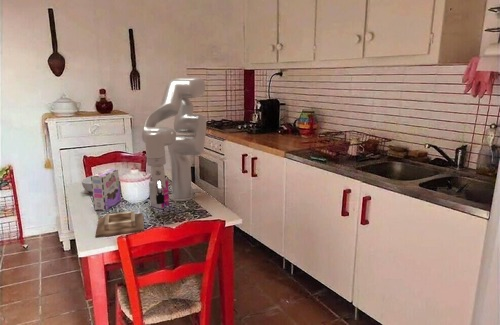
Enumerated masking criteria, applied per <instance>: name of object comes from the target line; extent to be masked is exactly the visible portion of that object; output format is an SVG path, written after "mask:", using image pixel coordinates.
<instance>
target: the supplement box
mask: <svg viewBox="0 0 500 325" xmlns="http://www.w3.org/2000/svg"><path fill="white" fill-rule="evenodd" d="M165 182H166V188H163V194H164V201H165V203H163V204H157V201H156V195H157V194H156V189H154V185H153V181H152V180H151V181H149V182H148V187H149V188H148V189H149V200H150V208H153V209H156V210H161V209H164V208H166V207H169V206H170V194H169V181H168V180H166V179H165ZM157 188H158V184H157ZM157 191H158V190H157Z"/></svg>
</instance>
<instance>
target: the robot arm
mask: <svg viewBox="0 0 500 325" xmlns="http://www.w3.org/2000/svg"><path fill="white" fill-rule="evenodd" d="M205 91H206V82H205V80H204V78H202V77H176V78H173V79H171V80H169V81H168V82H167V83H166V86H165V88H164V92H163V95H162V99H161V102H160V105H159V106H158V107H157V108H155V109H154V110H153V111H152V112H151V113H150V114H149V115H148V116H147V117H146V119H145V121H144V124H143V127H142V131H141V139H142V141H143V142H144V143H145V152H146V165H147V166H148V167H150V172H151V173H150V174H151V181H153V185H154V189H156V194H157V195H156V201H157V204H163V203H165V201H164V194H163V188H166V182H165V180H166V176H165V175H166V174H165V167H164V166H165V165H166V163H167V162H166V149H165V147H167V149H168V153H169V159H170V172H171V186H172V188H171V190H172V192H171V194H169V200H171V201H174V202H186V201H191V200H193V199H194V198H196V194H201V193H202V189H201V188H193V187H192V168H191V166H192V165H191V161H190V159H189V156H201V155H202V154H203V153H204V149H205V142H206V133H207V120H206V117H205V116H204V115H203V114H197V113H196V114H195V113H194V104H193V102H192V101H191V99H197V98H199V97H201V96H202V95H204V93H205ZM172 117H174V119H173V120H174V121H173V128H172V127H166V126H165V127H162V126H159V127H158V126H157V125H158V124H159V123H162V122H163V121H166V120H167V119H170V118H172ZM188 134H189V135H188ZM157 184H158V188H157ZM157 190H158V191H157Z"/></svg>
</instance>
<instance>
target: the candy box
mask: <svg viewBox="0 0 500 325" xmlns="http://www.w3.org/2000/svg"><path fill="white" fill-rule="evenodd" d="M90 176H91V182H92V192H91V193H92V200H93V210H94V211H104V212H105V211H106V212H107V210H109V209H111V208H112V207H114V206H115V205H117V204H119V203H120V202H121V201H122V195H121V189H120V188H121V187H120V177H119V176H120V175H119V169H117V168H106V169H105V170H103V171H99V172H98V173H96V174H94V175H90Z"/></svg>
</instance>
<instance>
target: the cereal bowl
mask: <svg viewBox="0 0 500 325" xmlns="http://www.w3.org/2000/svg"><path fill="white" fill-rule="evenodd" d="M91 176H92V175H90V176H87V177H85V178H82V180H81V185H82V188H83V189H84V190H85V191H86V192H90V193H93V192H92V182H91Z"/></svg>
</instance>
